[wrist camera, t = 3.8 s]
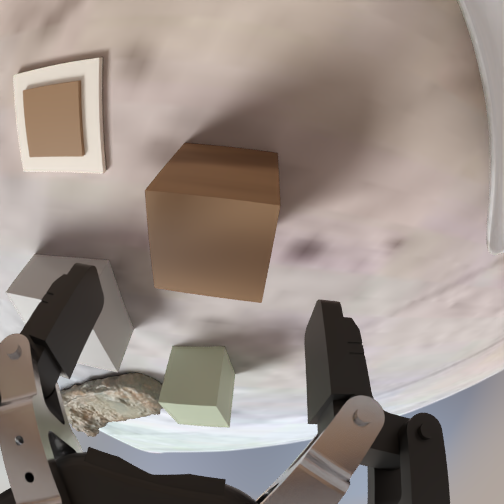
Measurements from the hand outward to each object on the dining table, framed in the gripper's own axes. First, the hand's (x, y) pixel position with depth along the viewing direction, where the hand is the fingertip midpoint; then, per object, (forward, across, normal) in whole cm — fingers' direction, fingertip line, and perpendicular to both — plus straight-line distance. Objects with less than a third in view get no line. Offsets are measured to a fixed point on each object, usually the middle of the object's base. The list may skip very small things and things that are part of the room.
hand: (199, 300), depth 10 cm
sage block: (+8, +1, +18) cm, 20 cm away
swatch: (+8, +11, -4) cm, 15 cm away
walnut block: (+8, 0, 0) cm, 8 cm away
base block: (+9, +12, +11) cm, 18 cm away
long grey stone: (+9, +19, +36) cm, 42 cm away
